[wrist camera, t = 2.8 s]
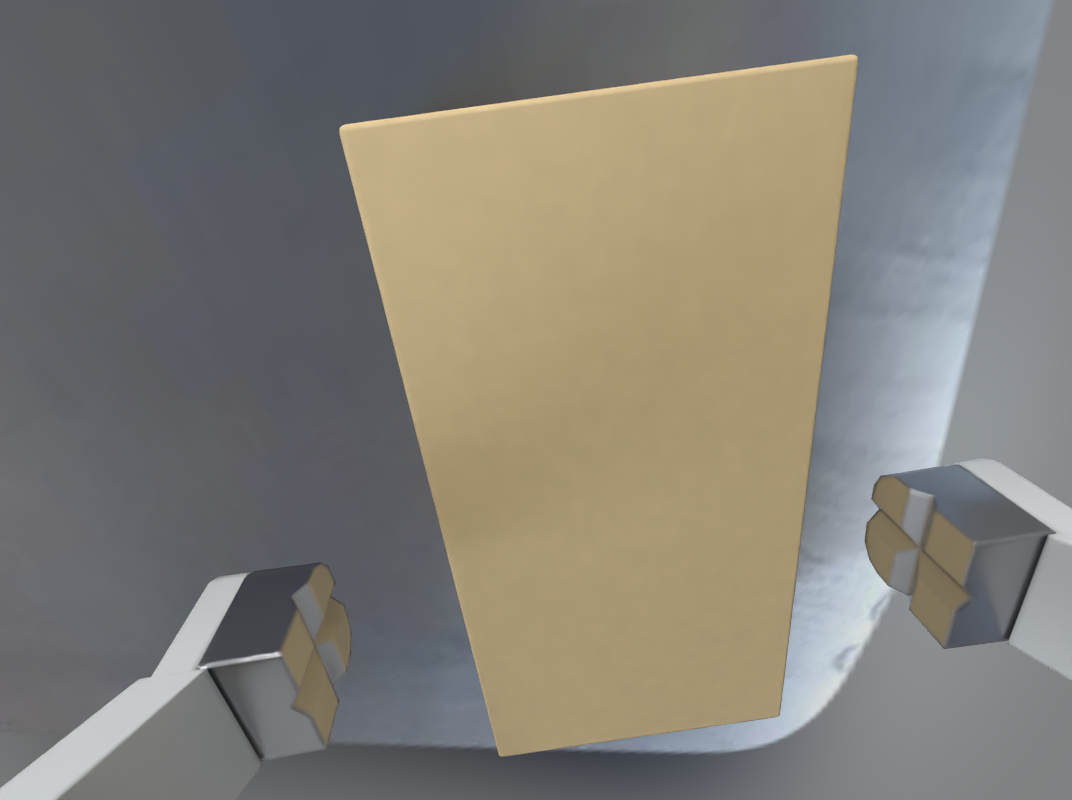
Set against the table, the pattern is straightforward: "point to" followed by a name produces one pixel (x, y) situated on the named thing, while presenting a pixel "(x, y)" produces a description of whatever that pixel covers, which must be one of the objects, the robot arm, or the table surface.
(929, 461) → the table surface
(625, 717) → the beige pad
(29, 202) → the table surface
